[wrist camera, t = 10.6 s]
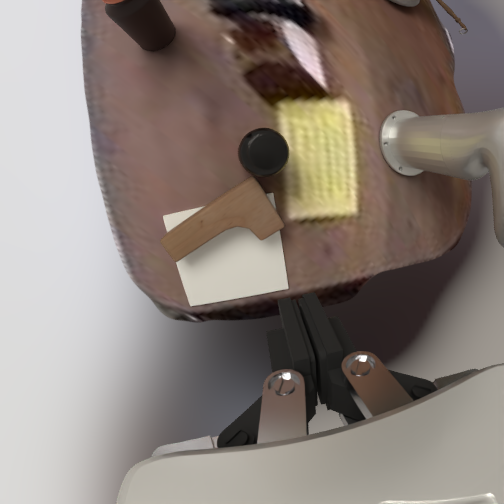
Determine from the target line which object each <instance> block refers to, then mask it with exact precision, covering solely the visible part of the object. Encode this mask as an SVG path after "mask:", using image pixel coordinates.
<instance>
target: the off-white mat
mask: <svg viewBox="0 0 504 504" xmlns="http://www.w3.org/2000/svg"><path fill="white" fill-rule="evenodd" d="M266 195H267V197H268V198H269V200H270V201H271V203H272V205H273V206H274V208H275V209H276V206H275V200H274V194H273V193H268V194H266ZM204 207H205V206H204ZM202 208H203V207H199V208H195V209H190V210H186V211H182V212H177V213H173V214H169V215H165V216H163V219H164V222H165V226H166V230H167V232H169V231H170V230H171V229H173V228H174V227H176V226H177V225H178V224H180V223H181V222H183V221H184V220H186V219H187V218H189V217H190V216H191V215H193V214H194V213H196V212H197V211H199V210H200V209H202ZM176 264H177V267H178V270H179V273H180V276H181V279H182V282H183V286H184V289H185V292H186V295H187V298H188V300H189V303H190V306H195V305H202V304H208V303H214V302H220V301H225V300H231V299H237V298H242V297H248V296H253V295H258V294H264V293H269V292H274V291H279V290H284V289H289V288H288V281H287V274H286V268H285V261H284V255H283V248H282V242H281V236H280V230H279V231H277V232H276V233H274V234H272V235H271V236H269V237H268V238H266V239H264V240H259V239H258V238H257V237H256V235H255V234H254V233H253V232H252V231H251V230H250V229H247V228H242V227H234V228H231V229H228V230H225V231H224V232H222V233H221V234H219V235H218V236H216V237H214V238H213V239H211V240H210V241H208V242H207V243H205V244H204V245H202V246H201V247H199V248H198V249H196V250H195V251H193V252H191V253H190V254H188V255H187V256H185V257H184V258H182V259H181V260H179V261H178V262H176Z"/></svg>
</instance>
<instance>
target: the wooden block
mask: <svg viewBox="0 0 504 504" xmlns="http://www.w3.org/2000/svg"><path fill="white" fill-rule="evenodd" d="M284 226H285V224H284V222H283V221H282V219H281V218H280V216H279V214H278V213H277V211H276V209H275V208H274V206H273V205H272V203H271V201H270V200H269V198H268V197H267V195H266V194H265V192H264V190H263V189H262V187H261V186H260V184H259V183H258V181H257V179H256V178H255V177H254V176H251V177H249V178H248V179H246V180H244V181H243V182H241V183H240V184H238V185H237V186H235V187H234V188H232V189H230V190H229V191H227V192H226V193H224V194H223V195H221V196H220V197H218V198H217V199H215V200H214V201H212V202H211V203H209V204H208V205H206V206H205V207H203V208H202V209H200V210H199V211H197V212H196V213H194V214H193V215H191V216H190V217H189V218H187V219H186V220H184V221H183V222H181V223H180V224H178V225H177V226H176V227H174V228H173V229H171V230H170V231H169V232H167V233H166V234H165V236H164V237H163V238H162V239H161V241H160V242H161V244H162V245H163V247H164V248H165V249H166V251H167V252H168V253H169V255H170V256H171V257H172V259H173V260H174V261H175V262H178V261H179V260H181V259H182V258H184V257H185V256H187V255H188V254H190V253H191V252H193V251H195V250H196V249H198V248H199V247H201V246H202V245H204V244H205V243H207V242H208V241H210V240H211V239H213V238H214V237H216V236H218V235H219V234H221V233H222V232H224V231H225V230H228V229H231V228H234V227H242V228H247V229H250V230H251V231H252V232H253V233H254V234H255V235H256V237H257V238H258V239H259V240H264V239H266V238H268V237H269V236H271V235H272V234H274V233H276V232H277V231H279V230H281V229H282V228H284Z"/></svg>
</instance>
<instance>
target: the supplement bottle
mask: <svg viewBox="0 0 504 504" xmlns="http://www.w3.org/2000/svg"><path fill="white" fill-rule="evenodd" d="M238 157H239V161H240V163H241V164H242V166H243V167H244V168H245V169H246V170H247V171H248V172H249V173H251V174H253V175H255V176H259V177H269V176H273V175H275V174H277V173H279V172H280V171H281V170H282V169H283V168H284V167H285V165H286V164H287V162H288V158H289V147H288V144H287V142H286V140H285V138H284V137H283V136H282V135H281V134H280V133H278V132H277V131H275V130H273V129H269V128H258V129H255V130H252V131H251V132H249V133H248V134H246V135H245V136H244V138H243V139H242V141H241V143H240V145H239V148H238Z"/></svg>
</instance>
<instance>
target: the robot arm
mask: <svg viewBox="0 0 504 504" xmlns="http://www.w3.org/2000/svg"><path fill="white" fill-rule="evenodd" d="M379 140H380V147H381V151H382V154H383V156H384V159H385V160H386V162H387V163H388V165H389V166H390V167H391V168H392V169H393V170H395V171H396V172H398V173H400V174H403V175H408V176H414V175H417V174H420V173H421V172H423V171H429V172H434V173H438V174H443V175H447V176H452V177H456V178H460V179H465V180H476V179H479V178H481V177H482V176H484V175H485V174H487V173H488V172H489V174H490V181H491V186H492V198H493V215H494V230H495V234H496V238H497V240H498V242H499V243H500V244H501V245H502V246H503V247H504V108H501V109H496V110H491V111H486V112H480V113H467V114H449V115H434V116H422V117H419V116H418V115H417V114H415V113H413V112H411V111H406V110H401V111H396V112H393V113H391V114H390V115H389V116H388V117H386V119H385V120H384V122H383V124H382V126H381V130H380V138H379ZM278 305H279V311H280V316H281V323H282V328H281V329H276V330H270V331H267V338H268V345H269V352H270V359H271V366H272V372H273V373H272V374H270V375H269V376H268V377H267V379H265V381H264V385H263V394H262V396H261V397H260V398H259V399H258V400H257V401H256V402H255V403H254V404H252V405H251V406H250V407H249V409H247V410H246V411H245V412H244V413H243V414H242V415H241V416H239V417H238V418H237V419H236V420H235V421H234V422H233V423H231V425H229V426H228V427H227V428H226V429H225V430H224V431H223V432H222V433H221V434H220V435H219V436H217V437H212V438H211V436H206V437H203V438H198V439H194V440H189V441H184V442H179V443H174V444H168V445H164V446H161V447H159V448H157V449H156V450H155V451H154V453H153V454H152V458H149V459H146V460H144V461H141V462H140V463H138V464H136V465H134V466H133V467H132V468H131V469H130V470H129V472H128V473H127V475H126V477H125V478H124V480H123V483H122V485H121V488H120V491H119V495H118V498H117V502H116V504H504V363H502V364H497V365H492V366H489V367H486V368H483V369H480V370H478V369H470V370H467V371H464V372H460V373H457V374H453V375H449V376H446V377H441V378H438V379H435V381H434V382H431V381H428V380H426V379H422V378H417V377H413V376H410V375H406V374H402V373H398V372H394V371H391V370H388V369H387V368H386V367H385V366H384V365H383V364H382V362H381V361H380V360H379V359H378V358H377V357H376V356H375V355H374V354H372V353H369V352H365V351H359V352H357V351H356V349H355V347H354V345H353V343H352V341H351V340H350V338H349V336H348V334H347V332H346V330H345V328H344V327H343V325H342V323H341V321H340V319H339V318H338V317H337V316H335V317H331V318H327V316H326V314H325V312H324V310H323V308H322V306H321V304H320V302H319V300H318V298H317V296H316V294H315V293H309V294H304V295H302V298H301V299H299V309H300V312H299V309H298V306H297V304H296V301H295V300H291V299H290V298H285V299H280V300H278ZM317 392H318V396H319V399H320V402H321V404H325V403H326V406H327V409H328V410H330V409H331V410H333V411H336V412H338V413H339V417H340V419H341V421H342V422H343V424H344V426H343V427H339V428H335V429H331V430H328V431H324V432H319V433H315V434H311V435H309V430H308V422H309V421H310V420H311V419H312V418H313V416H314V415H315V414H316V410H315V406H317V405H318V402H317Z"/></svg>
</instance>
